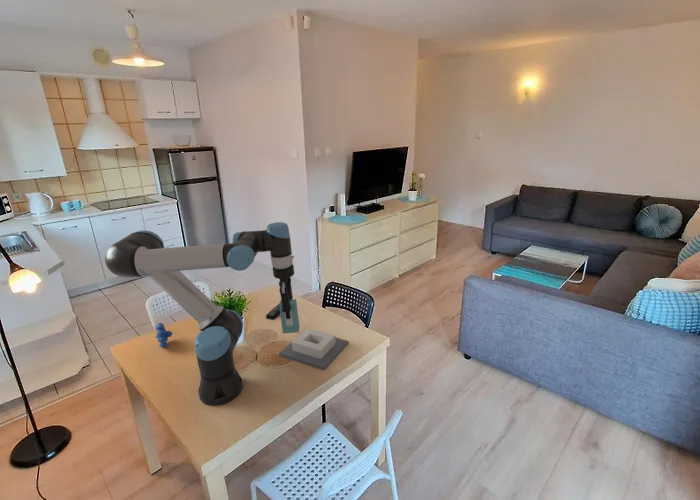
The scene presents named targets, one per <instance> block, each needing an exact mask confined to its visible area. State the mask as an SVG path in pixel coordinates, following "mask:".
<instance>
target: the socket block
mask: <svg viewBox="0 0 700 500" xmlns="http://www.w3.org/2000/svg"><path fill="white" fill-rule="evenodd" d="M348 345H349V340H348V339H342V338H339V337H336V335H335V334H331V333H327V332H324V331H320V330H316V329H312V328H309V327H307V328H306V329H305V330H304V331H302V333H300V334H299V335H298V336H297V337H296V338H294V339H293V340H292V341H291V342H290V343H288V345H287V346H285V347H284V348H282V350H281V351H279V352H278V356H279V355H280V357H282V356H283V357H282V358H285V359H289V360H291V361H295V362H298V363H300V364H305V365H307V366H311V367H314V368H317V369H320V370H322V371H325V370H326V369H327V368H328V367H329V366H330V365H331V364H332V363H333V361H334V360H335V359H336V358H337V357H338V356H339V355H340V354H341V352H342V351H343V350H344V349H345V348H346V347H347V346H348Z"/></svg>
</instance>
